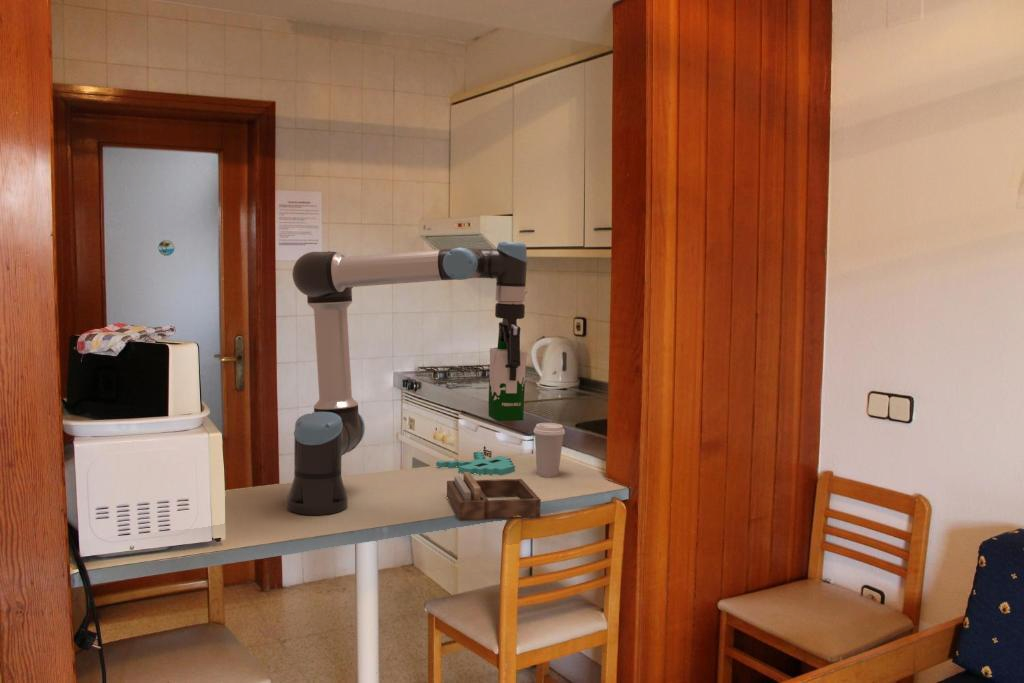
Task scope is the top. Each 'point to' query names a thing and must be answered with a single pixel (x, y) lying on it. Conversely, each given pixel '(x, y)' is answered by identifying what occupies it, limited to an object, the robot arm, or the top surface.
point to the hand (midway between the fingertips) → (506, 389)
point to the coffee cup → (548, 448)
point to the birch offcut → (472, 486)
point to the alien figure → (481, 465)
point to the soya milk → (500, 401)
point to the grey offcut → (462, 488)
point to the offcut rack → (496, 508)
